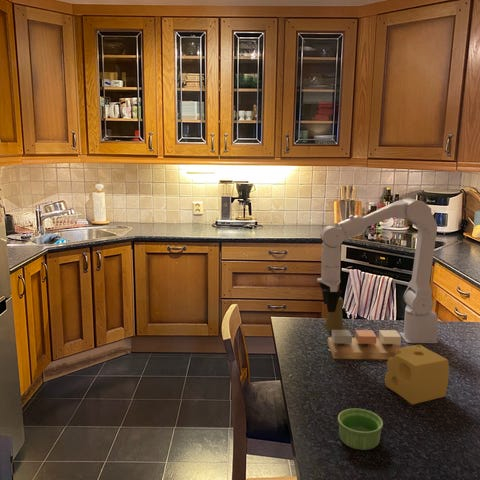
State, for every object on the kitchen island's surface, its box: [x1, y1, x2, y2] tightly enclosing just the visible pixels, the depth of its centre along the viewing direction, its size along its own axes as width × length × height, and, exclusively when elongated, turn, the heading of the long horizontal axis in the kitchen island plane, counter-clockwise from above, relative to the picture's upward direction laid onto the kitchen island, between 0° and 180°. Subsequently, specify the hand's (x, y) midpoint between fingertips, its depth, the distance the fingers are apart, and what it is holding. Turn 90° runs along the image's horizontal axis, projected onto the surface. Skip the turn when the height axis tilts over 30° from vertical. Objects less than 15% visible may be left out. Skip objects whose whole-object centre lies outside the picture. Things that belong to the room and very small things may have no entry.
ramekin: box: [337, 408, 384, 451], centre depth 99 cm, size 9×9×4 cm
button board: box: [327, 336, 402, 360], centre depth 142 cm, size 20×11×3 cm, turn 88°
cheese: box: [384, 344, 450, 405], centre depth 118 cm, size 10×11×10 cm
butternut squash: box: [324, 296, 345, 333], centre depth 159 cm, size 6×6×11 cm
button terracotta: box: [354, 329, 378, 344], centre depth 141 cm, size 5×5×2 cm
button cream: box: [378, 329, 402, 345], centre depth 141 cm, size 5×5×2 cm
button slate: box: [331, 329, 353, 344], centre depth 142 cm, size 5×5×2 cm
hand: (329, 307), depth 150 cm, fingers open, 7 cm apart
